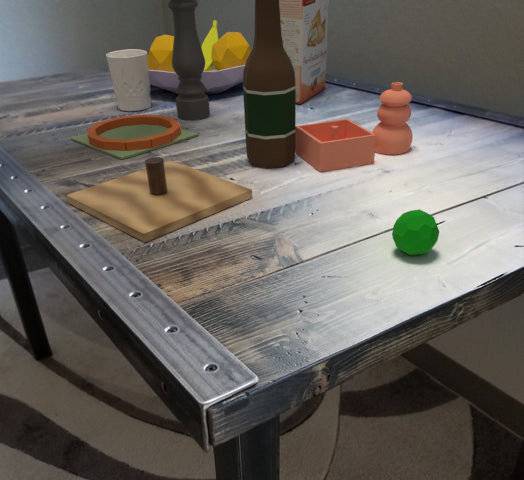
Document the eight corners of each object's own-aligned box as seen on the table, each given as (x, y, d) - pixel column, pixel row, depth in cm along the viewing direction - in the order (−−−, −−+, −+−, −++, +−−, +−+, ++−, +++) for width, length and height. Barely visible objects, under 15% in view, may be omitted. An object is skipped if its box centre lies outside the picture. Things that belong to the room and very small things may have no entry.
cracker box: (303, 105, 116) (304, -19, 103) (275, 102, 118) (273, -19, 106) (327, 88, 126) (331, -26, 113) (302, 86, 128) (303, -26, 116)
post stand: (145, 242, 70) (137, 198, 66) (68, 203, 80) (58, 163, 77) (252, 197, 80) (250, 157, 76) (171, 167, 90) (166, 130, 87)
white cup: (162, 104, 120) (155, 51, 114) (136, 114, 114) (127, 58, 108) (133, 100, 123) (125, 48, 117) (107, 109, 118) (97, 55, 112)
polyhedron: (381, 249, 66) (385, 210, 64) (413, 238, 68) (418, 199, 66) (412, 267, 63) (417, 226, 60) (444, 254, 65) (451, 215, 62)
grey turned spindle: (195, 122, 109) (179, -38, 94) (171, 117, 112) (152, -38, 97) (216, 114, 113) (204, -41, 98) (192, 109, 116) (177, -41, 101)
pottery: (319, 172, 86) (322, 102, 80) (295, 152, 94) (295, 87, 88) (424, 154, 91) (433, 87, 85) (393, 137, 98) (400, 74, 92)
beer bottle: (305, 161, 90) (308, -21, 76) (264, 173, 87) (258, -16, 72) (276, 149, 95) (274, -25, 81) (236, 159, 92) (226, -20, 78)
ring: (123, 157, 93) (121, 148, 92) (72, 137, 102) (70, 129, 102) (198, 133, 102) (197, 125, 101) (145, 117, 111) (144, 110, 110)
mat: (122, 160, 93) (121, 157, 93) (70, 140, 103) (70, 137, 102) (198, 136, 102) (198, 133, 102) (144, 119, 111) (144, 117, 111)
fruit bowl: (218, 108, 116) (214, 45, 109) (115, 95, 127) (105, 37, 120) (285, 78, 135) (285, 23, 128) (190, 69, 146) (185, 17, 139)
